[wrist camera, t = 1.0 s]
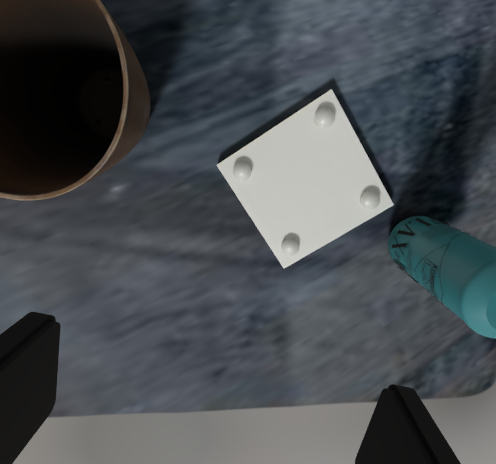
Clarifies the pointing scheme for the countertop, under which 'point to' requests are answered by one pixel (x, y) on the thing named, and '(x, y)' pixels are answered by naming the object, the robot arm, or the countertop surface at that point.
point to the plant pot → (65, 96)
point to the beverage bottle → (449, 268)
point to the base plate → (306, 180)
